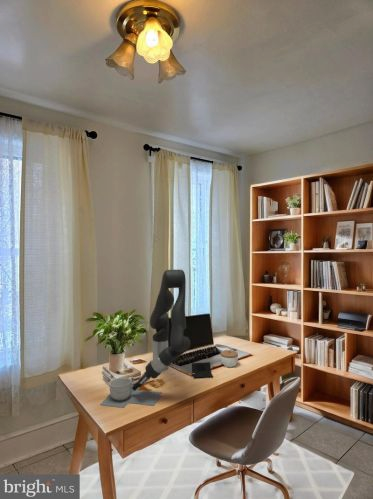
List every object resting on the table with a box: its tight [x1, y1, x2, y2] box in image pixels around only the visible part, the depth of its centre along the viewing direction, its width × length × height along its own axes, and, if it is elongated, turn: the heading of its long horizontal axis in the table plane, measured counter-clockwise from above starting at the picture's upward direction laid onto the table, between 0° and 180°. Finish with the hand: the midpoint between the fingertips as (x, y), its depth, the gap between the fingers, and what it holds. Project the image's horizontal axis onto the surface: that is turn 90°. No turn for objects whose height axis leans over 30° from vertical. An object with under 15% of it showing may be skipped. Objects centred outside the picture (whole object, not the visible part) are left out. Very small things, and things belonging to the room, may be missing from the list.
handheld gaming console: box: [191, 362, 214, 380], centre depth 180 cm, size 12×7×10 cm
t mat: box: [99, 384, 163, 409], centre depth 155 cm, size 22×25×1 cm
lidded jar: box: [220, 349, 239, 368], centre depth 194 cm, size 11×11×9 cm
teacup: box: [108, 376, 135, 401], centre depth 155 cm, size 14×11×8 cm
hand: (133, 388), depth 155 cm, fingers closed
